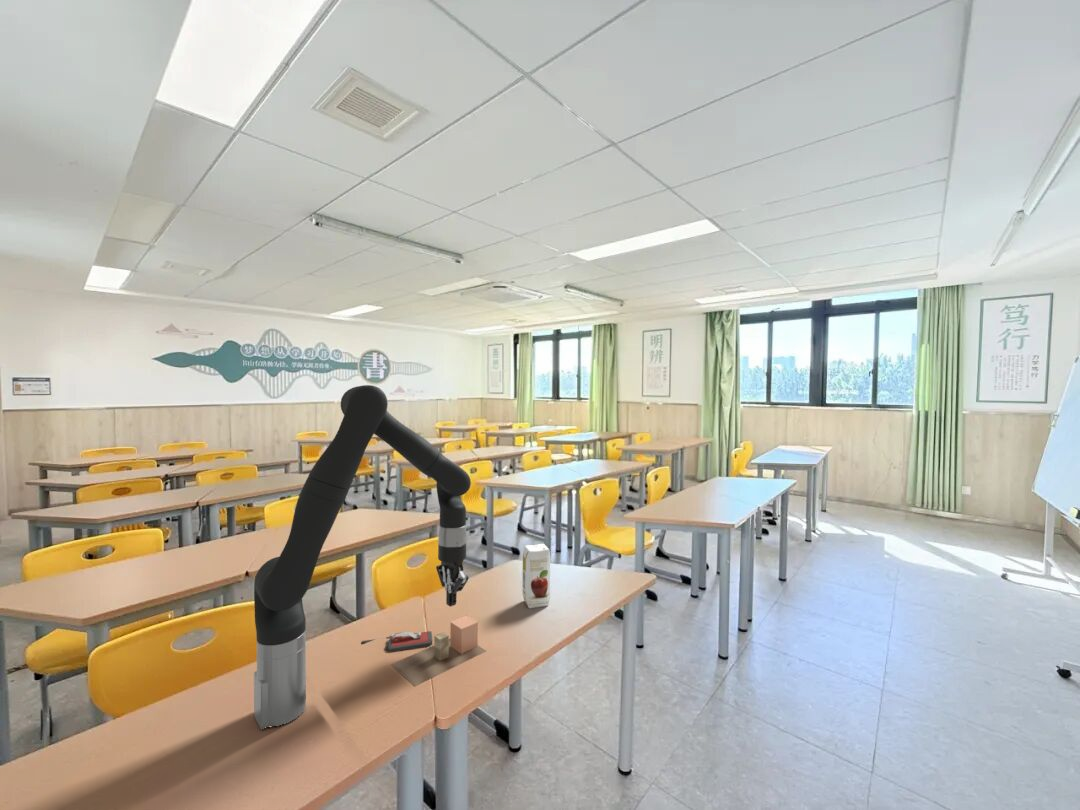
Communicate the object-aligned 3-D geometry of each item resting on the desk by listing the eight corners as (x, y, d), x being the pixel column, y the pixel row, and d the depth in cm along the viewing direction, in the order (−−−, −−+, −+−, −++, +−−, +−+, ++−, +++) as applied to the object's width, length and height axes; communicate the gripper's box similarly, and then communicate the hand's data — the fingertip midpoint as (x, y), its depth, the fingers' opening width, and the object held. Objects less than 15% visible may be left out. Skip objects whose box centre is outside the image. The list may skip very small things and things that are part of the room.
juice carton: (520, 600, 152) (521, 544, 152) (544, 596, 155) (545, 542, 154) (526, 610, 145) (527, 551, 144) (552, 606, 147) (552, 549, 147)
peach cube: (461, 654, 117) (461, 629, 117) (450, 646, 121) (450, 622, 121) (477, 646, 121) (477, 622, 121) (466, 638, 124) (466, 615, 124)
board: (414, 692, 104) (414, 663, 104) (390, 670, 112) (390, 642, 112) (486, 656, 119) (486, 630, 119) (460, 639, 127) (460, 614, 127)
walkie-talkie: (435, 635, 130) (361, 645, 124) (435, 620, 130) (361, 630, 124) (436, 652, 121) (357, 663, 116) (436, 636, 121) (357, 647, 116)
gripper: (427, 538, 124) (426, 600, 124) (454, 550, 114) (452, 618, 114) (451, 533, 129) (449, 593, 129) (478, 544, 119) (476, 609, 119)
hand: (451, 604), depth 122 cm, fingers closed
